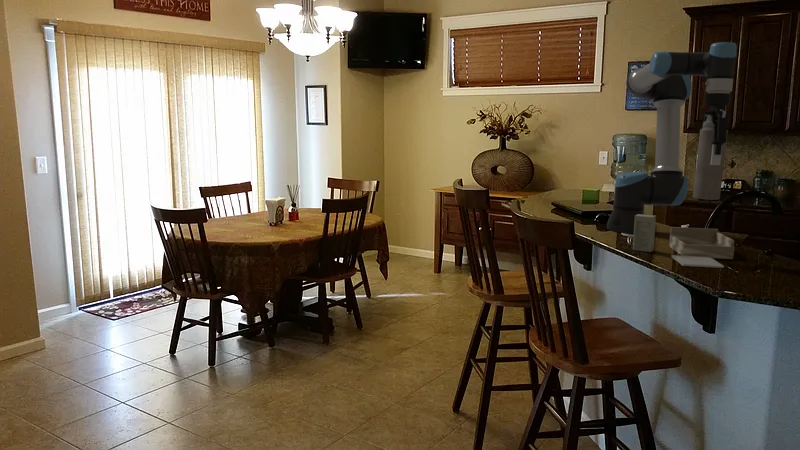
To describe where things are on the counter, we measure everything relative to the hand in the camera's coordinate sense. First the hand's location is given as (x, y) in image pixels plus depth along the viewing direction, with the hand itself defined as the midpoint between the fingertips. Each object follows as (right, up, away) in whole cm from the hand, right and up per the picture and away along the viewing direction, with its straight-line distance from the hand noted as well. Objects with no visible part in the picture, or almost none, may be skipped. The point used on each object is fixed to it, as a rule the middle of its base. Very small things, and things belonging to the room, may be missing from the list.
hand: (710, 163), depth 197 cm
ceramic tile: (-7, -32, -5) cm, 33 cm away
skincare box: (-18, -29, +11) cm, 36 cm away
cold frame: (+1, -29, +9) cm, 31 cm away
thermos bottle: (0, -11, +2) cm, 11 cm away
